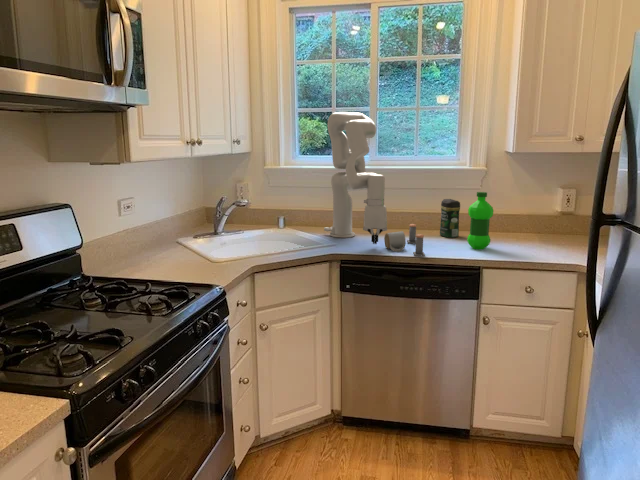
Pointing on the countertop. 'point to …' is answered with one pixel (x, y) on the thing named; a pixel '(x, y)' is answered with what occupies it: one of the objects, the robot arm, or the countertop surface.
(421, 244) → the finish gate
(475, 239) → the plastic bottle
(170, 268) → the countertop surface
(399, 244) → the ceramic mug
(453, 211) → the coffee jar
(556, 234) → the countertop surface
